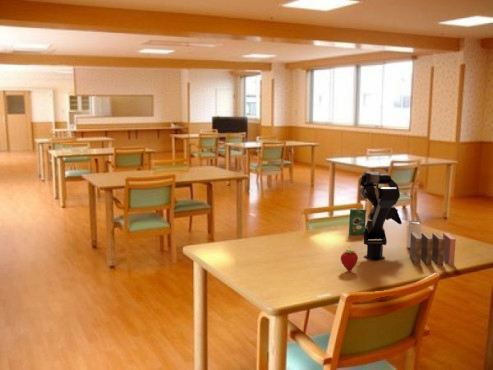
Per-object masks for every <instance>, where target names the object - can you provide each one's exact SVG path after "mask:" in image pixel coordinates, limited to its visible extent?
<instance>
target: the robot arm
mask: <svg viewBox="0 0 493 370" xmlns="http://www.w3.org/2000/svg"><path fill="white" fill-rule="evenodd" d="M380 185H388V186H387V187H386V186H385V187H384V186H383V187H381V186H380ZM359 186H360V188H359V192H358V193H359V195H360V198H361V197H362V198H363V199H366V200H368V201H369V202H370V203H371V205H372V208H371V209H370V211H369V213H368V215H367V218H368V219H369V220H367V221H366V223H365V229H364V231H363V234H362V238H363V245H366V247H367V248H366V254H365V255H364V256H363V257H364V258H366V259H369V260H373V261H379V260H384V259H386V257H385V256H384V254H383V252H384V249H383V248H384V246H386V245H387V242H388V239H387V235H386V230H385V228H384V225H385V222H386V221H389V220H392V221H394V222H395V223H397V224H399V225H402V223H403V222H402V220H401V217H400V214H399V210H398V208H397V207H395V205H396V204H397V203H398V201H399V199H400V197H401V192H400V189H399V185H398V183H396V181H394V180H393V179H392V176H391V174H388V173H381V172H379V171H364V172H363V174H362V175H361V177H360V180H359Z"/></svg>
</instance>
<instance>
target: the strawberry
mask: <svg viewBox="0 0 493 370" xmlns="http://www.w3.org/2000/svg"><path fill="white" fill-rule="evenodd" d="M348 248H349V249H351V247H350V246H348ZM358 260H359V257H358V254H357V253H356V250H348V249H345V251H344V252H343V253H342V254H341V256H340V262H341V264H342V265H343V267H344V268H345V270H347V272H351V271H352V270H353V269H354V268H355V265H356V264H357V262H358Z"/></svg>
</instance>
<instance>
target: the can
mask: <svg viewBox="0 0 493 370" xmlns="http://www.w3.org/2000/svg"><path fill="white" fill-rule="evenodd" d="M406 227H407V229H406V248H408V249H409V250H410V242H411V232H416V233H417V234H418V235H419V236H420V237H421V235H422V233H423V224H422V222H421V221H419V220H409V221H408V222H407V226H406Z"/></svg>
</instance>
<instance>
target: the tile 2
mask: <svg viewBox="0 0 493 370" xmlns="http://www.w3.org/2000/svg"><path fill="white" fill-rule="evenodd" d="M421 238H422V244H421V260H422V261H423V262H424V263H425V265H432V262H433V259H432V248H433V238H432V235H430V234H428V232H422V235H421Z"/></svg>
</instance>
